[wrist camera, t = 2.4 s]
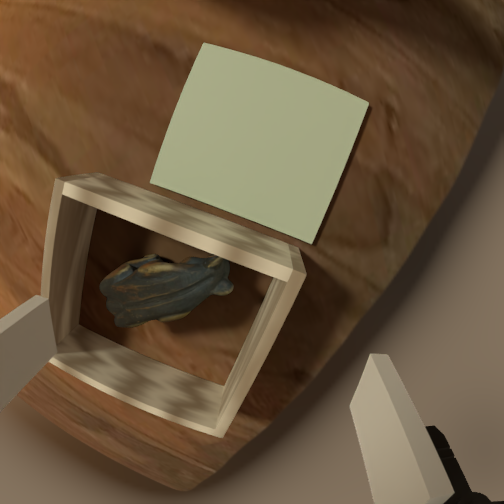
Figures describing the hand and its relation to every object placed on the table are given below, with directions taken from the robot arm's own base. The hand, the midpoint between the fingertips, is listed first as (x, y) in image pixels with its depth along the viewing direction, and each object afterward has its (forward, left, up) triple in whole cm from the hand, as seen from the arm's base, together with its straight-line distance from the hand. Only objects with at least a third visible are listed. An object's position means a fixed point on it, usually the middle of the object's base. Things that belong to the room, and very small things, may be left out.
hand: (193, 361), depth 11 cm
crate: (-6, -11, -23) cm, 26 cm away
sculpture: (-6, -11, -24) cm, 27 cm away
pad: (-2, +9, -23) cm, 24 cm away
